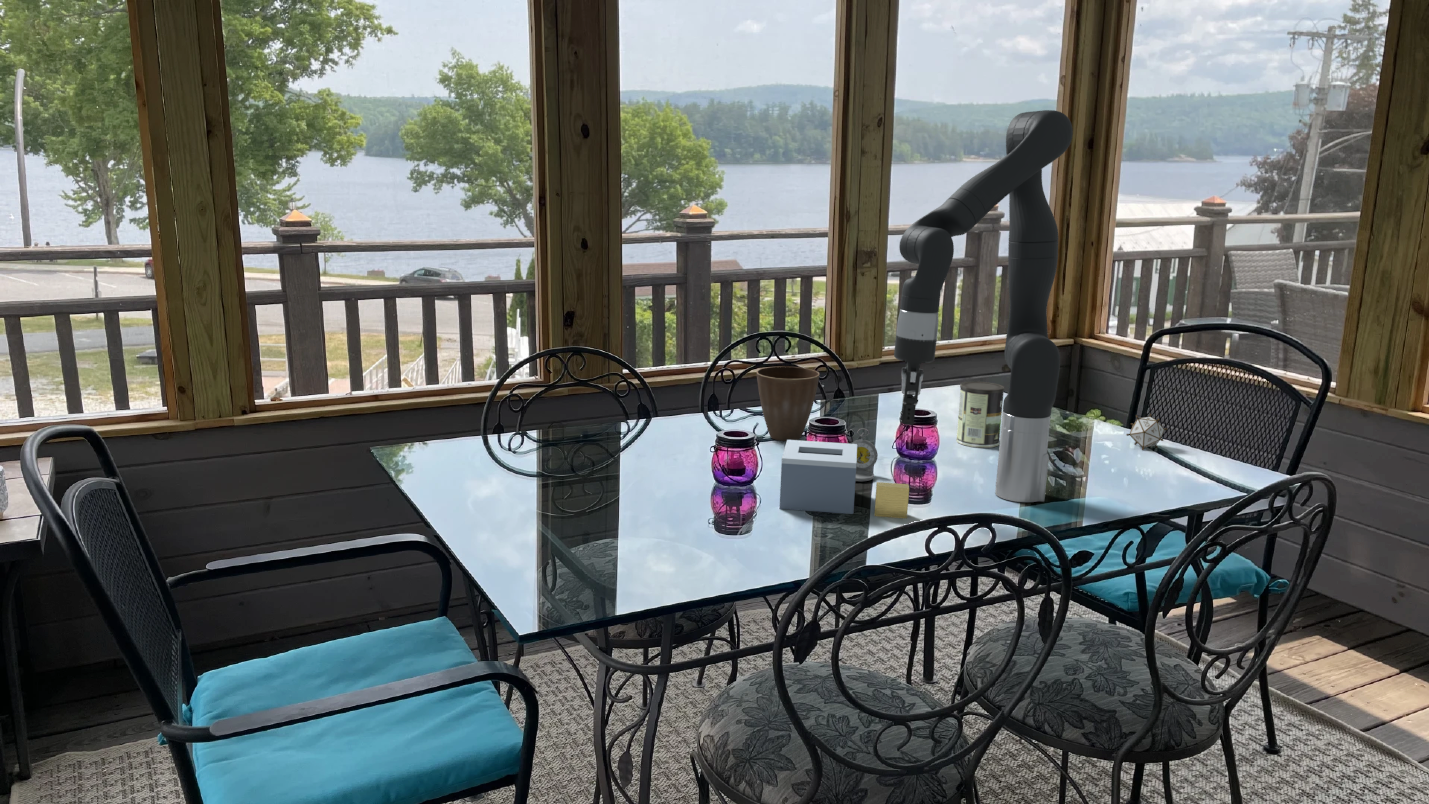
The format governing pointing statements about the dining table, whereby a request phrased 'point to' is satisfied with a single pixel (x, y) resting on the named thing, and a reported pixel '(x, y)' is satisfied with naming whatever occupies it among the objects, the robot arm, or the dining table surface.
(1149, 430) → the game die
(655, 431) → the dining table surface
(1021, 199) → the robot arm
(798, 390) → the plant pot
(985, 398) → the coffee can
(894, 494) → the plate
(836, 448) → the coin box
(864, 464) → the pocket watch
